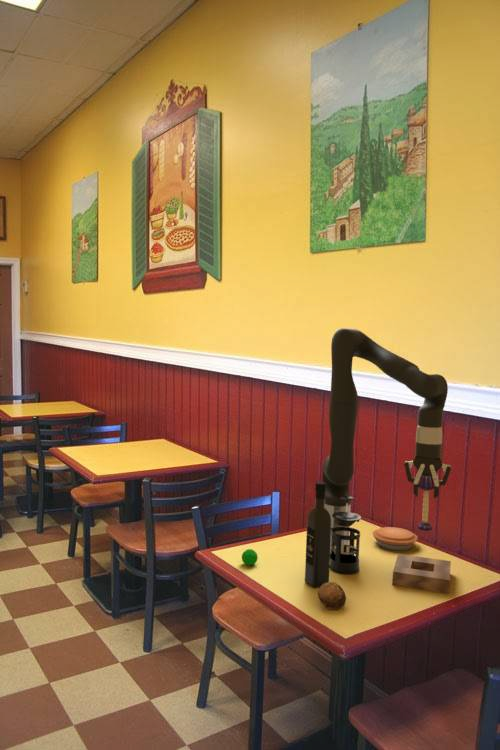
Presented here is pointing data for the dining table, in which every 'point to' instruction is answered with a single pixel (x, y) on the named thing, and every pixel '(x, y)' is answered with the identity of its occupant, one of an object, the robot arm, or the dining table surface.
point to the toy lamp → (425, 500)
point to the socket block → (422, 573)
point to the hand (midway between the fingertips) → (425, 496)
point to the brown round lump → (331, 595)
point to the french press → (345, 553)
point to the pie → (394, 538)
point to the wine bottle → (318, 540)
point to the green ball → (249, 557)
